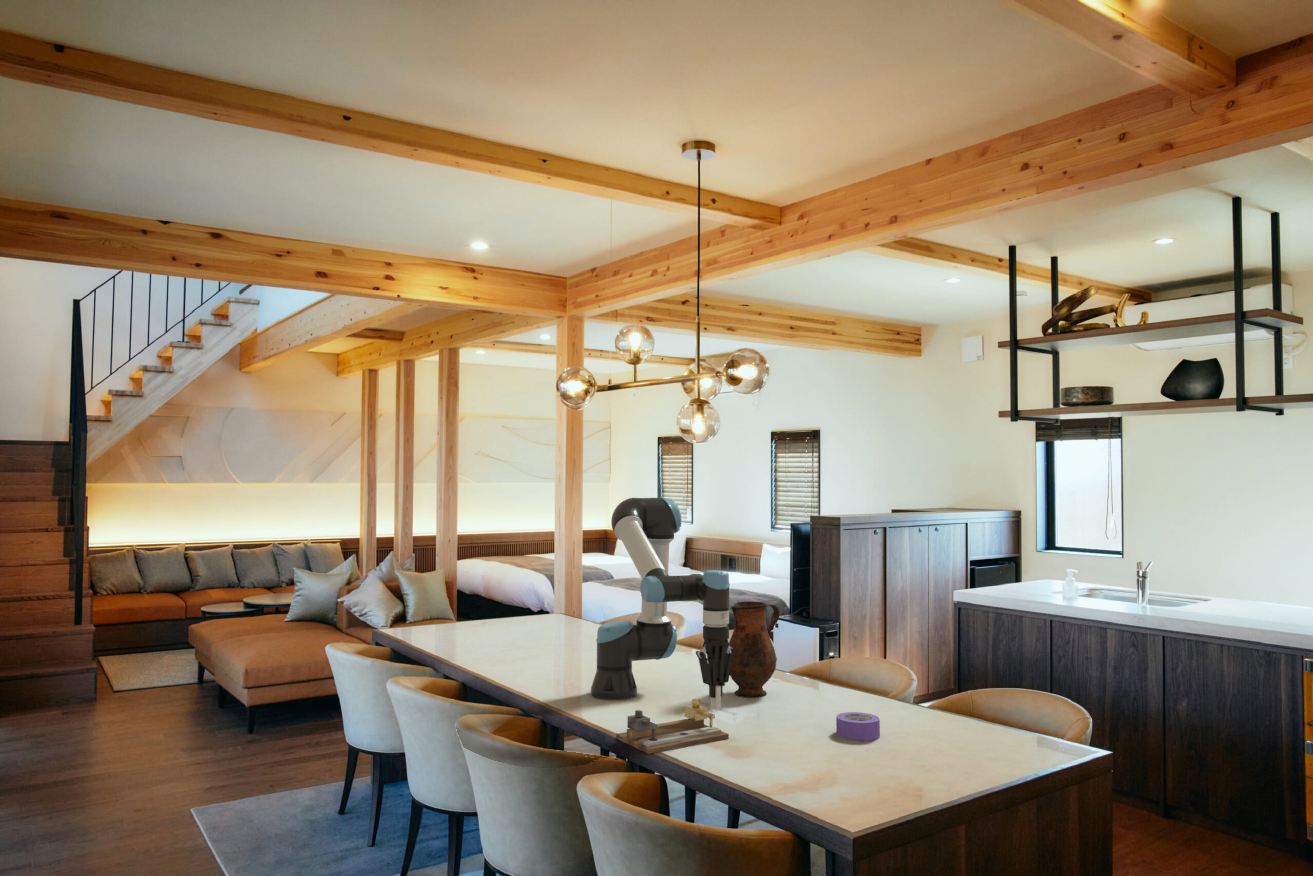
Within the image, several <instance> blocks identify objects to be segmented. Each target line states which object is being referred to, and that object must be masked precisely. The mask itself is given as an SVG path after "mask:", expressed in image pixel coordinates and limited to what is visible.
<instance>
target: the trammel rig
mask: <svg viewBox="0 0 1313 876" xmlns="http://www.w3.org/2000/svg"><path fill="white" fill-rule="evenodd" d="M643 714H644V713H643V710H640V709H637V710H635V711H634V714H633V715H627V723H626V724H627V729H626V731H625V732H620V733H616V734H615V736H616V737H615V739H616V740H618V741H621V742H622V743H624V744H627V745H629V746H630V747H631V746H632V747H634V748H635V749H637V750H640V751H641V752H643V753H646V754H647V755H650V754H655V753H661V752H666V751H671V750H675V749H677V750H678V749H681V748H686V747H691V746H697V745H702V744H707V743H713V742H717V741H722V740H723V741H724V740H728V739H729V733H727V732H724V731H723V730H722V729H720V728H718V727H715V726H713V725H712V728H710V727H709V725H706V724H705V719H702V720H697V721H695V720H692V719H690V718H685V719H679V720H673V721H668V722H662V723H661V722H660V723H655V722H652V721H651V718H650V717H648V716H646V715H643Z"/></svg>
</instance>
